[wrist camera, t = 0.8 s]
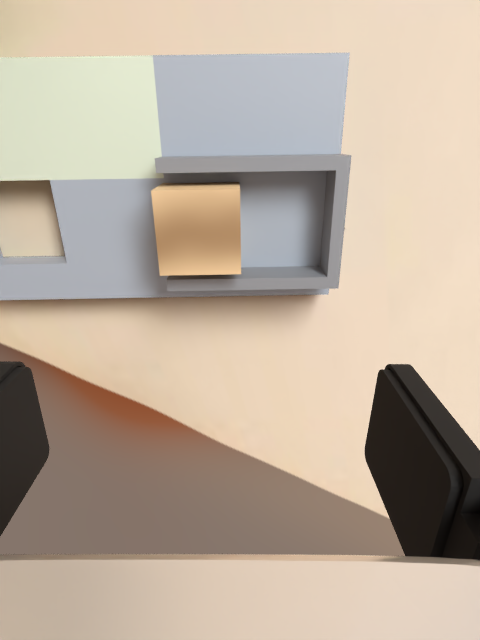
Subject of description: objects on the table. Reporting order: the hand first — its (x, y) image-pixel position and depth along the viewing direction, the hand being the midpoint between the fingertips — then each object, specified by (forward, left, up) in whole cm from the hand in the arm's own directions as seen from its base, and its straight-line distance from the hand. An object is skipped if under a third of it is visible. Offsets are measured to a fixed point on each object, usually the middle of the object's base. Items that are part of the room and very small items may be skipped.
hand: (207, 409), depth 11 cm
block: (-2, -1, -18) cm, 19 cm away
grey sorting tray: (-4, -5, -20) cm, 21 cm away
